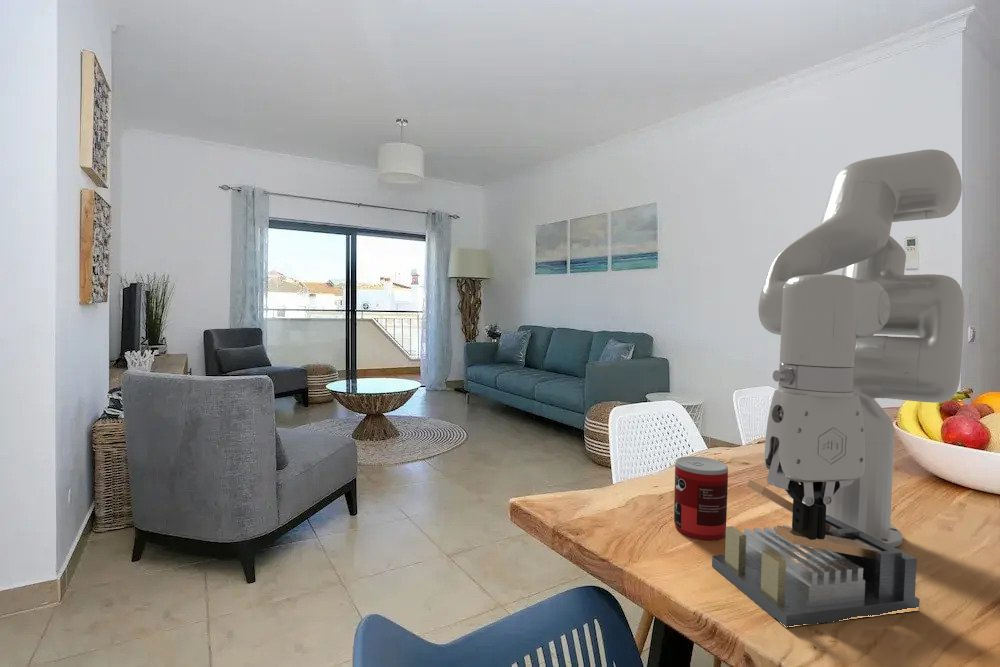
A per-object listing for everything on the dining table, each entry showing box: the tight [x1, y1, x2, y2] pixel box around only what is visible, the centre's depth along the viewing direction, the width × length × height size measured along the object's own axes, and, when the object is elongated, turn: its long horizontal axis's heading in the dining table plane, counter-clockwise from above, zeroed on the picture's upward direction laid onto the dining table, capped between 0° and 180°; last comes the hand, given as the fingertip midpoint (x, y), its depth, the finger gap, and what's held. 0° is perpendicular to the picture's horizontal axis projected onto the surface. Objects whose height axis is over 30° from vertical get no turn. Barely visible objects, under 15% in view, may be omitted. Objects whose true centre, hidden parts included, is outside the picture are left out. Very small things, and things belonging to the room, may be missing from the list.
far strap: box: [746, 479, 837, 536], centre depth 69 cm, size 4×13×1 cm, turn 101°
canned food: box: [673, 455, 729, 541], centre depth 83 cm, size 8×8×11 cm
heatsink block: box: [711, 514, 921, 627], centre depth 66 cm, size 14×18×7 cm
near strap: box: [775, 524, 882, 559], centre depth 62 cm, size 4×13×1 cm, turn 101°
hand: (807, 534), depth 61 cm, fingers closed
